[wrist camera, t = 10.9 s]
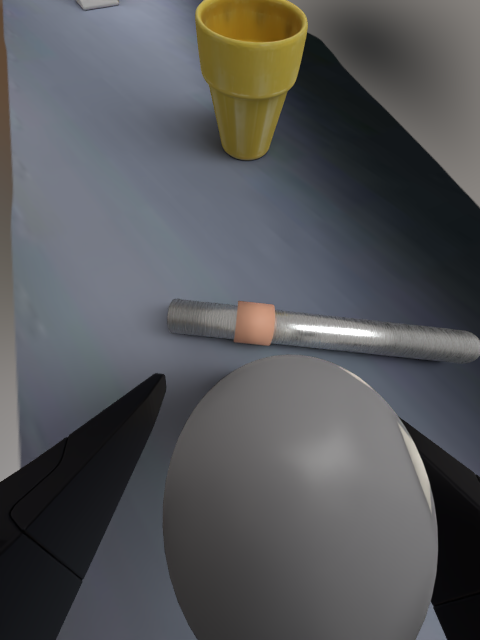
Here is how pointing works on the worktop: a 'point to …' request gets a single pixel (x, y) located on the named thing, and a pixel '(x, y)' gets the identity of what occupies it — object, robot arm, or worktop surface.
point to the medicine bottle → (96, 3)
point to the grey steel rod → (320, 331)
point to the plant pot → (249, 67)
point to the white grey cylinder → (299, 510)
